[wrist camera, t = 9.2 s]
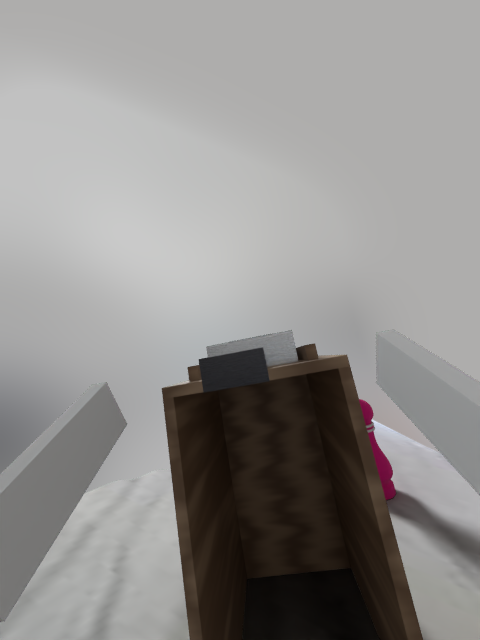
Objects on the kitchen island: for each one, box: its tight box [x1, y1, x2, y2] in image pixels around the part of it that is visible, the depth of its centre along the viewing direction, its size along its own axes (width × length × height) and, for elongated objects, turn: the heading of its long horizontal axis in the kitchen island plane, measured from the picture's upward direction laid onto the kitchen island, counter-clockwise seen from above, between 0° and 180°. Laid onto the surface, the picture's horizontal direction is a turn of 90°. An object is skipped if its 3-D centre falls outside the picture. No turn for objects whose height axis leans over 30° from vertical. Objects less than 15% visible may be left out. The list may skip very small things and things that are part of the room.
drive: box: [199, 330, 298, 393], centre depth 25 cm, size 10×30×4 cm, turn 173°
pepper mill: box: [359, 399, 396, 500], centre depth 48 cm, size 7×7×20 cm
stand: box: [162, 344, 423, 640], centre depth 27 cm, size 17×20×32 cm
